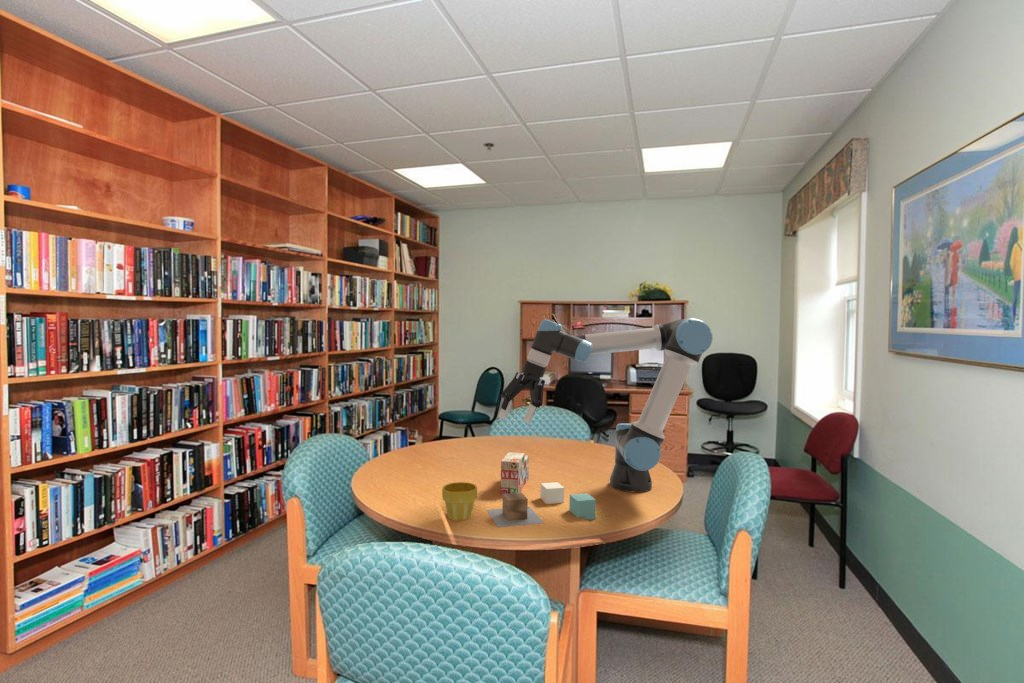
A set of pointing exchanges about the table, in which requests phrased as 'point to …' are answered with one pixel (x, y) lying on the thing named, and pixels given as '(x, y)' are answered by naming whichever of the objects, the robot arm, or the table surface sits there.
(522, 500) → the walnut cube
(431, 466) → the table surface
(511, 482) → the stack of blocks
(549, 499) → the cream cube
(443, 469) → the table surface
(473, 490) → the plant pot
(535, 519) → the plate
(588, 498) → the teal cube
